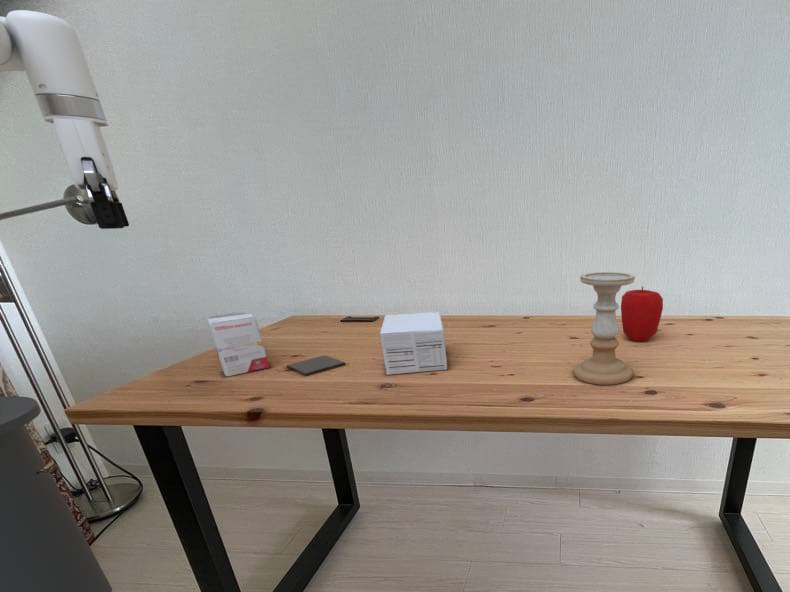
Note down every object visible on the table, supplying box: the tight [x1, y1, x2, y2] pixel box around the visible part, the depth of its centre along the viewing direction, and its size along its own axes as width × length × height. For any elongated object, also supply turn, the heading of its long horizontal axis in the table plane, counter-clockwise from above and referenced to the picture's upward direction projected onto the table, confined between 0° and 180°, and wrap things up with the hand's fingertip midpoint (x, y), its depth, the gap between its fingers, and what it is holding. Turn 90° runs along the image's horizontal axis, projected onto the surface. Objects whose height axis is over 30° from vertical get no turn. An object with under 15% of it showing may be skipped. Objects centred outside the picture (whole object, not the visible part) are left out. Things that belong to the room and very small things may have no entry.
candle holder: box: [573, 271, 636, 386], centre depth 91 cm, size 12×12×20 cm
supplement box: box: [379, 311, 448, 376], centre depth 104 cm, size 17×13×9 cm
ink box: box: [206, 313, 270, 377], centre depth 99 cm, size 9×5×12 cm, turn 128°
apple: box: [620, 286, 664, 343], centre depth 117 cm, size 11×10×14 cm
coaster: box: [286, 354, 346, 377], centre depth 103 cm, size 9×9×1 cm
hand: (115, 227), depth 80 cm, fingers open, 9 cm apart
